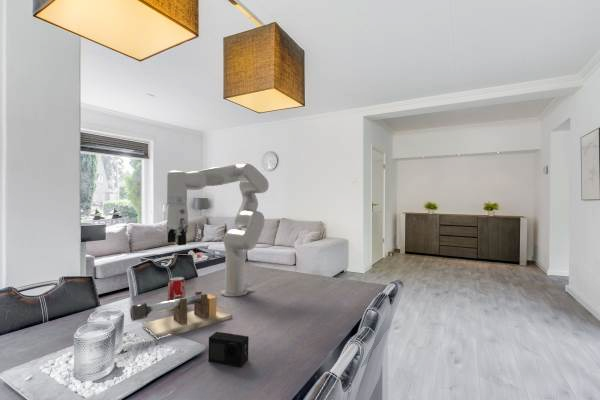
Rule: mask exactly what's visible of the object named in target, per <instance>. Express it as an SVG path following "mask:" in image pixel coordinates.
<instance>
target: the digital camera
mask: <svg viewBox="0 0 600 400" xmlns="http://www.w3.org/2000/svg"><path fill="white" fill-rule="evenodd" d="M248 361H249V336H248V335H243V334H242V335H241V334H236V333H235V334H234V333H228V332H223V331H222V332H220V331H216V332H214V333H212V334H211V335H210V336H208V363H213V364H219V365H222V366H223V365H225V366H229V367H236V368H239V369H242V368H243V367H244V365H245V364H247V362H248Z"/></svg>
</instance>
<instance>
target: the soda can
mask: <svg viewBox="0 0 600 400" xmlns="http://www.w3.org/2000/svg"><path fill="white" fill-rule="evenodd" d="M177 295H181V298H185V297H186V280H185V277H183V276H173V277H170V278H169V281H168V283H167V301H171V300H175V296H177Z"/></svg>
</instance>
